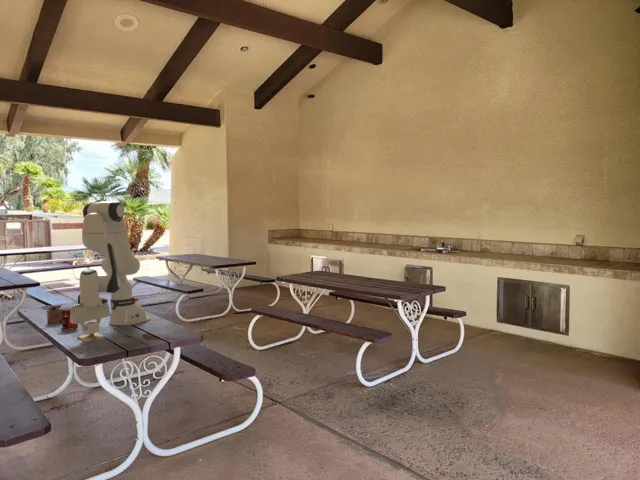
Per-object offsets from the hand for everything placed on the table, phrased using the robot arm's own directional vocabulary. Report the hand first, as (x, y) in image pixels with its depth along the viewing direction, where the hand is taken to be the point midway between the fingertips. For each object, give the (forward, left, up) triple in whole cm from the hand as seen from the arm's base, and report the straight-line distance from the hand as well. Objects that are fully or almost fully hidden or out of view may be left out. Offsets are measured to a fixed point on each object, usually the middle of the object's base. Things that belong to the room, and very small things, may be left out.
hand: (90, 328), depth 241 cm
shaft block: (0, 0, -5) cm, 5 cm away
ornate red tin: (-1, -49, -5) cm, 49 cm away
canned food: (-2, -31, -5) cm, 31 cm away
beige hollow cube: (0, 0, -2) cm, 2 cm away
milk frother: (-26, -56, -5) cm, 62 cm away
